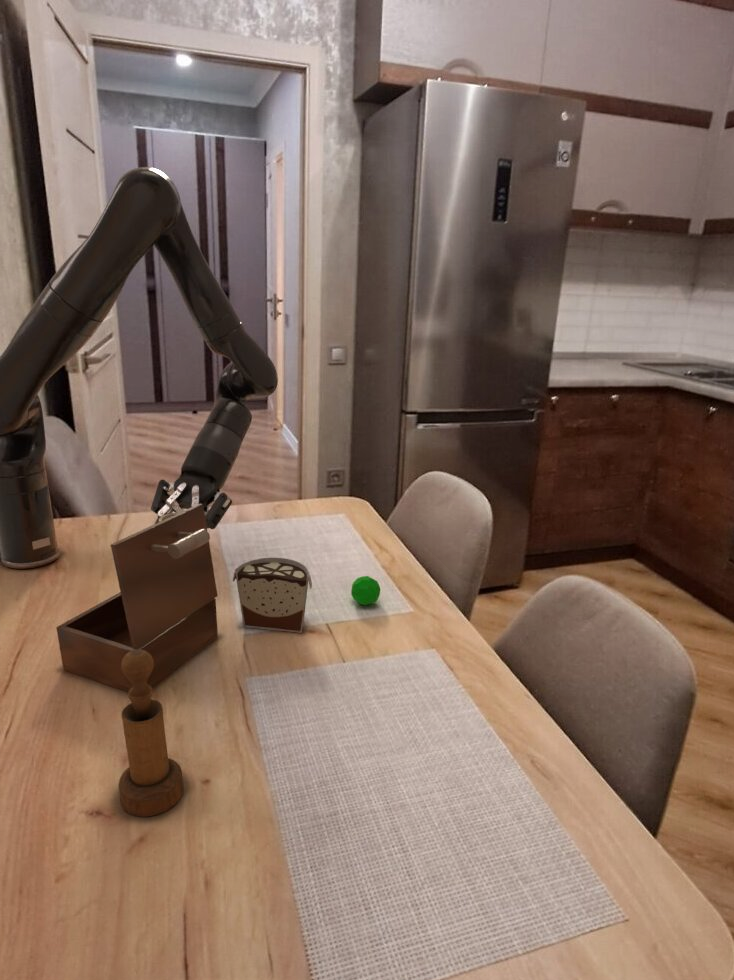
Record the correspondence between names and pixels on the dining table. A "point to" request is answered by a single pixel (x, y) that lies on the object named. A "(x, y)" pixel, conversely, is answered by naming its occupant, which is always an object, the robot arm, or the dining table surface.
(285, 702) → the dining table surface
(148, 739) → the mortar and pestle
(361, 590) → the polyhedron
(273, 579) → the food container
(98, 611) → the walnut box
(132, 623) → the box lid
